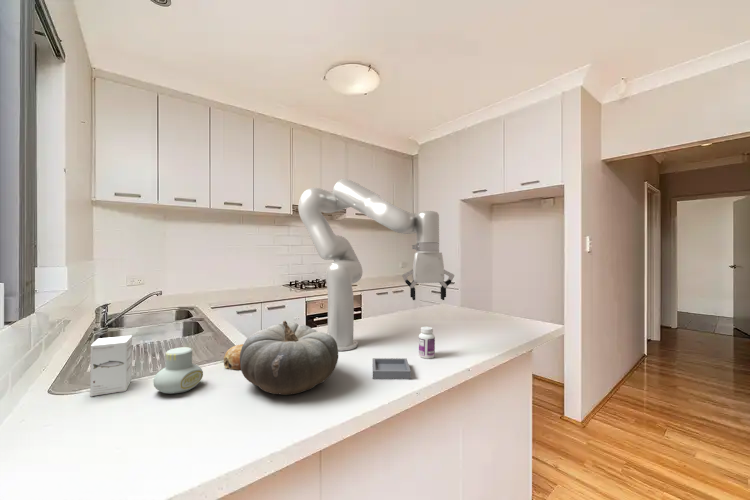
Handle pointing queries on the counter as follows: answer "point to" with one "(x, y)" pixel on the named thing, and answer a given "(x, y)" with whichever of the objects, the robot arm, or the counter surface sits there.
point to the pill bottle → (426, 343)
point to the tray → (391, 368)
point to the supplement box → (110, 365)
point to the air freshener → (178, 372)
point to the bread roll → (233, 358)
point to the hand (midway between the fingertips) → (428, 299)
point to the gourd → (288, 358)
